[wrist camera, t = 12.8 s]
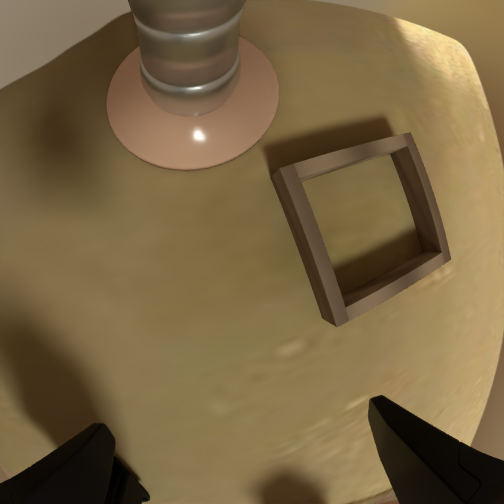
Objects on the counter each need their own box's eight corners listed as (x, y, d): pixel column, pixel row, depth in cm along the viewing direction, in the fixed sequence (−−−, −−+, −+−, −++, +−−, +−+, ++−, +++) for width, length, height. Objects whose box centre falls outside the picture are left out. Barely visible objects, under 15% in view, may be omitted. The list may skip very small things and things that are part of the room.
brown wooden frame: (322, 318, 21) (337, 327, 19) (270, 177, 20) (279, 168, 18) (432, 258, 23) (451, 259, 20) (393, 141, 22) (410, 132, 19)
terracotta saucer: (133, 199, 19) (130, 197, 18) (98, 63, 18) (95, 58, 17) (302, 139, 21) (306, 136, 20) (242, 20, 20) (243, 15, 19)
